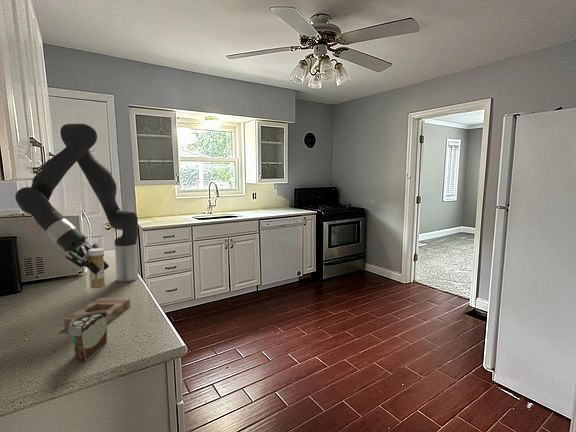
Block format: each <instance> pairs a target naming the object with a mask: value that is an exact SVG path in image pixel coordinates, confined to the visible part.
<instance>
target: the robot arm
mask: <svg viewBox="0 0 576 432" xmlns="http://www.w3.org/2000/svg"><path fill="white" fill-rule="evenodd" d="M59 133H60V138H61V140H62V142H63V144H64V146H65V148H63V149H61V150H60V151H59V152H58V153H57V154H55V155H53V156H52V157H50V158H49V159H48V160H46V161H45V162H44V163H43V164H42V165H41V167H42V171H41V172H40V173H39V174H38V175H36V176H35V175H34V176H35V177H34V176H33V177H34V179H33V178H32V179H33V180H32V182H31V185H30V186H26V187H25V186H24V187H22V188H19V189H18V190H17V191H16V193H15V196H14V197H15V201H16V203H17V205H18V207H19V208H20V210H21V211H22V212H24V213H25V214H29V215H31V216H32V217H33V218H34V220H35V222H36V224H38V226H40V228H41V229H42V230H44V232H46V234H47V235H48V236H49V238H50V239H51V240H52V241H54V242H55V243H56V245H58V246H59V247H60V248H61V249H62V250H63V251H64V252H66V253H67V254H66V255H65V258H66V260H69V261H70V262H71V263H72V264H75V265H76V266H77V267H79V268H83V267H85V268H87V269H88V270H89V272H90V271H91V272H93V273H94V274H97V273H98V272H99V271H100V269H99V268H98V267H97V266H96V265H95V264H94V263H93V262H92V261H91V260H90V258H89V254H88V250H90V249H95V248H100V246H99V244H97V243H95V242H94V244H90V243H88V242H87V241H86V240H87V239H86V238H87V237H86V236H85V235H84V234H83V233H82V232H81V231H80V230H79V229H78V228H77V227H76V226H75V225H74V224H73V223H72V222H70V221H69V220H68V219H67V218H65V217H64V216H63V214H61V213H60V212H59V211H58V210H57V209H56V208H55V207H54V206H53V205H52V203H51V202H50V199H51V196H52V194H53V193H54V190H55V189H56V187H57V186H58V185H59V183H60V182H61V181H62V179H63V178H64V177H65V176H66V174H67V173H68V171H70V169H71V168H72V167H73V166H74V165H75V164H76V163H78V165H79V168H80V169H81V171H82V173H83V174H84V176H85V178H86V180H87V182H88V184H89V185H90V188H91V189H92V191H93V192H94V194H95V195H96V197H97V199H98V201H99V203H100V205H101V208H102V209H103V211H104V213H105V217H106V219H107V222H109V223H108V224H109V225H110V226H111V228H112V229H114V230H118V231H122V234H121V236H118V237H117V238H115V239H114V254H115V255H114V257H115V271H116V272H115V274H116V276H115V277H116V281H117V282H121V283H122V282H123V283H125V282H132V281H135V280H137V279H138V277H139V264H138V262H139V260H138V259H139V258H138V249H137V245H138V244H137V240H138V233H139V229H138V228H139V219H138V215H137V213H136V212H135V211H132V210H122V209H121V208H120V207H119V205H118V203H117V201H116V195H117V183H116V181H115V179H114V177H113V175H112V173H111V171H110V170H109V169H108V168H107V167H106V166H105V165H104V164H103V163H102V162H100V160H98V159H97V158H96V157H95V156H94V155H93V154H92V152H91V151H90V150H91V148H92V147H93V146H95V144H96V142H97V141H98V134H97V131H96V129H95V128H94V127H93V126H92V125H90V124H87V123H66V124H63V125H62V126H61V128H60V131H59ZM104 256H105V253H104V254H103V257H104ZM91 262H92V263H91ZM109 267H110V265H109V264H108V263H107V261H105V260H104V271H105V270H107V269H108V268H109Z"/></svg>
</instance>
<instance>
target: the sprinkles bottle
mask: <svg viewBox="0 0 576 432" xmlns="http://www.w3.org/2000/svg"><path fill="white" fill-rule="evenodd" d="M104 252H105V251H104V248H102V247H99V248H95V249H90V250H88V254H89V258H90V260H91V261H92V262H93V263H94V264H95V265H96V266H97V267H98V268H99V269H100V271H99V272H98V273H97V274H94V273H93V272H91V271H90V270H89V279H90V286H89V288H91V289H94V290H95V289H100V288H103V287H105V286H106V282H105V281H106V280H105V275H106V274H105V270H104V261H105V260H104V256H103V254H104V255H105V253H104ZM92 262H91V263H92Z"/></svg>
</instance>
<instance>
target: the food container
mask: <svg viewBox="0 0 576 432" xmlns="http://www.w3.org/2000/svg"><path fill="white" fill-rule="evenodd" d="M107 316H109V315H108V312H107V310H99V311H93V312H89V313H85V314H83V315H80V316H78V317H76V318H75V319H73V320H72V321H71V324H70V326H69V328H68V334H69V335H71V336H72V342H73V349H74V353H75V357H76V358H75V359H76V360H78V361H79V362H83V363H84V362H87V361H88V360H90V359H91V358H92V357H93V356H94V355H95V354H97V353H98V352H99V351H100V350H101V349H102V348H103V347H104V346H106V345H107V344H108V324H107Z"/></svg>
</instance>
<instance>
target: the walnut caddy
mask: <svg viewBox="0 0 576 432" xmlns="http://www.w3.org/2000/svg"><path fill="white" fill-rule="evenodd" d="M130 307H131V299H130V298H114V297H113V298H111V297H107V298H106V297H98V298H96V299H94V301H92V302H90V303H89V304H87V305H85V306H84V307H82V308H80V309H78V310H77V311H76V312H73V313H72V314H70V315H69V316H67V317H65V318H64V319H63V323H64V329H69V326H70V324H71V321H72V320H73V319H75V318H76V317H78V316H80V315H83V314H85V313H89V312H93V311H99V310H107V312H108V315H109V316H107V325H108V324H109V323H111V322H112V321H114V320H115V319H116V318H117V317H119V316H120V315H122V313H123V312H125V311H126V310H128V309H129V308H130Z"/></svg>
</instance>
